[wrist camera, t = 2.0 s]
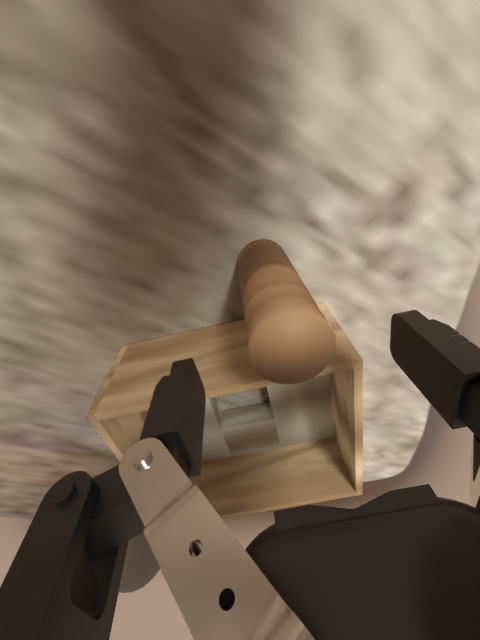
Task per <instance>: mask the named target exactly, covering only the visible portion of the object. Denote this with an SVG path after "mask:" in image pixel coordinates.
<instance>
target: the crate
mask: <svg viewBox="0 0 480 640" xmlns="http://www.w3.org/2000/svg"><path fill="white" fill-rule="evenodd" d="M316 304H317V306H318V308H319V309H320V311H321V313H322V314H323V316H324V318H325V319H326V321H327V322H328V324H329V326H330V327H331V329H332V331H333V333H334V335H335V338H336V350H335V354H334V356H333V358H332V360H331V362H330V363H329V365H328V366H327V367H326V368H325V369H324V370H323V371H322V372H321V373H319V374H318V375H317V376H315V377H313V378H311V379H309V380H306V381H304V382H300V383H295V384H279V383H274V382H271V381H268V380H266V379H264V378H263V377H261V376H260V375H259V374H258V373H257V372H256V371H255V370H254V369H253V367H252V365H251V362H250V358H249V351H248V344H247V336H246V328H245V321H244V319H242V320H237V321H233V322H228V323H224V324H219V325H214V326H210V327H205V328H201V329H196V330H192V331H187V332H183V333H178V334H173V335H169V336H164V337H160V338H155V339H151V340H146V341H142V342H137V343H132V344H128V345H123V346H122V348H121V350H120V352H119V353H118V355H117V357H116V359H115V361H114V363H113V365H112V367H111V369H110V371H109V373H108V375H107V377H106V379H105V381H104V383H103V385H102V387H101V388H100V390H99V392H98V394H97V396H96V398H95V400H94V402H93V404H92V406H91V408H90V410H89V412H88V414H87V416H86V417H87V419H88V420H89V421H90V423H91V424H92V425H93V427H94V428H95V429H96V431H97V432H98V433H99V435H100V436H101V437H102V439H103V440H104V441H105V443H106V444H107V445H108V447H109V448H110V449H111V451H112V452H113V453H114V455H115V456H116V457H117V459H118V460H119V461H121V458H122V457H123V455H124V454H125V452H126V451H127V450H128V449H129V448H130V447H131V446H132V445H134V444H135V443H137V442H138V441H139V439H140V436H141V433H142V429H143V426H144V423H145V419H146V416H147V413H148V409H149V408H150V402H151V399H152V396H153V392H154V389H155V386H156V385H157V384H158V382H159V381H160V380H161V378H162V377H163V376H167V375H170V371H171V367H172V363H173V362H174V361H178V360H183V359H187V358H192V359H193V360H194V362H195V365H196V367H197V370H198V373H199V375H200V378H201V380H202V383H203V386H204V389H205V395H206V404H205V417H204V431H203V445H202V459H201V473H200V476H195V477H190V481H191V482H192V483H195V484H196V486H197V487H198V488H199V489H200V491H201V492H202V493H203V495H204V496H205V497H206V499H207V500H208V501H209V503H210V504H211V505H212V507H213V508H214V509H215V511H216V512H217V513H218V515H219V516H220V517H221V518H228V517H234V516H240V515H245V514H251V513H257V512H262V511H269V510H275V509H280V508H286V507H292V506H298V505H303V504H309V503H315V502H321V501H327V500H333V499H339V498H344V497H350V496H355V495H362V455H363V360H362V358H361V357H360V355H359V354H358V352H357V351H356V349H355V348H354V346H353V345H352V343H351V342H350V340H349V339H348V338H347V336H346V335H345V333H344V332H343V330H342V329H341V327H340V326H339V324H338V323H337V321H336V320H335V318H334V317H333V315H332V314H331V312H330V311H329V309H328V308H327V306H326V305H325V303H324V302H319V303H316ZM263 387H267V391H268V395H269V400H270V402H266V403H261V404H256V405H251V406H246V407H241V408H236V409H231V410H226V411H221V410H220V407H219V405H218V402H217V399H216V397H218V396H223V395H228V394H233V393H238V392H243V391H248V390H253V389H258V388H263Z"/></svg>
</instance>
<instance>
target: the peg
mask: <svg viewBox="0 0 480 640" xmlns="http://www.w3.org/2000/svg"><path fill="white" fill-rule="evenodd" d="M237 267H238V275H239V282H240V290H241V298H242V305H243V313H244V321H245V328H246V336H247V344H248V351H249V358H250V362H251V365H252V367H253V369H254V370H255V371H256V372H257V373H258V374H259V375H260V376H261V377H263V378H264V379H266V380H268V381H271V382H274V383H279V384H295V383H300V382H304V381H306V380H309V379H311V378H313V377H315V376H317V375H318V374H319V373H321V372H322V371H323V370H324V369H325V368H326V367H327V366H328V365H329V363H330V362H331V360H332V358H333V356H334V354H335V350H336V338H335V335H334V333H333V331H332V329H331V327H330V326H329V324H328V322H327V321H326V319H325V318H324V316H323V314H322V313H321V311H320V309H319V308H318V306H317V304H316V303H315V301H314V300H313V298H312V296H311V295H310V293H309V291H308V290H307V288H306V287H305V285H304V283H303V282H302V280H301V278H300V277H299V275H298V274H297V272H296V270H295V269H294V267H293V265H292V264H291V262H290V261H289V259H288V257H287V256H286V254H285V252H284V251H283V249H282V248H281V247H280V246H279V245H278V244H277V243H275V242H273V241H271V240H266V239H261V240H256V241H253V242H251V243H249V244H248V245H247V246H245V247H244V248H243V250H242V251H241V253H240V255H239V257H238V262H237Z"/></svg>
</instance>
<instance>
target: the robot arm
mask: <svg viewBox="0 0 480 640" xmlns="http://www.w3.org/2000/svg"><path fill="white" fill-rule="evenodd" d="M390 350H391V354H392V357H393V359H394V360H395V362H396V363H397V364H398V366H399V367H400V368H401V369H402V370H403V371H404V373H405V374H406V375H407V376H408V377H409V378H410V380H411V381H412V382H413V383H414V384H415V386H416V387H417V388H418V389H419V390H420V391H421V393H422V394H423V395H424V396H425V397H426V399H427V400H428V401H429V402H430V403H431V404H432V406H433V407H434V408H435V409H436V410H437V411H438V413H439V414H440V415H441V416H442V417H443V419H444V420H445V421H446V422H447V423H448V424H449V426H450V427H451V428H452V429H456V428H462V427H467V426H468V428H469V429H470V430H471V431H472V435H471V452H470V490H469V498H468V503H467V504H465V503H462V502H458V501H455V500H451V499H446V498H441V497H437V496H436V494H435V493H434V491H433V490H432V488H431V487H430V485H429V484H427V485H421V486H415V487H409V488H404V489H398V490H392V491H389V492H387V493H385V494H383V495H381V496H379V497H377V498H375V499H373V500H371V501H369V502H368V503H366V504H364V505H362V506H360V507H358V508H355V509H346V508H336V507H326V506H316V505H307V506H302V507H296V508H290V509H284V510H279V511H274V517H275V524H274V525H272V526H270V527H268V528H267V529H266V530H264V531H263V532H261V533H260V534H259V535H258V536H257V537H256V538H255V539H254V540H253V541H252V542H251V543H250V544H249V546H248V547H247V548H246V550H245V549H244V548H243V546H242V545H241V544H240V542H239V541H238V540H237V538H236V537H235V536H234V534H233V533H232V532H231V530H230V529H229V528H228V526H227V525H226V524H225V522H224V521H223V520H222V518H221V517H220V516H219V515H218V513H217V512H216V511H215V509H214V508H213V507H212V505H211V504H210V503H209V501H208V500H207V499H206V497H205V496H204V495H203V493H202V492H201V491H200V489H199V488H198V487H197V486H196V484H195V483H192V482H191V481H190V477H195V476H200V473H201V459H202V445H203V431H204V417H205V404H206V395H205V389H204V386H203V383H202V380H201V378H200V375H199V373H198V370H197V367H196V365H195V362H194V360H193V359H192V358H187V359H183V360H178V361H174V362H173V363H172V367H171V371H170V375H167V376H163V377H162V378H161V380H160V381H159V382H158V384H157V385H156V386H155V389H154V392H153V396H152V399H151V402H150V408H149V409H148V413H147V416H146V419H145V423H144V426H143V429H142V433H141V436H140V439H139V441H138V442H137V443H135V444H134V445H132V446H131V447H130V448H129V449H128V450H127V451H126V452H125V454H124V455H123V457H122V458H121V461H120V464H119V465H118V466H116V467H114V468H112V469H110V470H108V471H106V472H104V473H102V474H100V475H98V476H96V477H94V478H91V477H90V476H89V474H88V473H86V472H84V471H77V472H73V473H70V474H68V475H66V476H65V477H63V478H61V479H60V480H59V481H58V482H56V483H55V484H54V485H53V486H52V487H51V488H50V490H49V491H48V492H47V493H46V495H45V496H44V498H43V500H42V502H41V504H40V506H39V508H38V510H37V512H36V514H35V516H34V518H33V521H32V523H31V525H30V527H29V529H28V531H27V533H26V535H25V538H24V539H23V541H22V544H21V546H20V548H19V550H18V552H17V554H16V556H15V558H14V560H13V562H12V564H11V566H10V569H9V571H8V573H7V575H6V577H5V579H4V581H3V583H2V586H1V587H0V640H109V637H110V632H111V627H112V622H113V617H114V612H115V607H116V602H117V597H118V592H119V587H120V582H121V577H122V572H123V567H124V562H125V557H126V552H127V547H128V542H129V540H130V539H132V538H134V537H135V536H137V535H139V534H141V533H143V532H144V534H145V536H146V539H147V541H148V543H149V545H150V547H151V549H152V551H153V554H154V556H155V558H156V560H157V562H158V564H159V566H160V568H161V571H162V573H163V575H164V577H165V579H166V581H167V583H168V585H169V588H170V590H171V591H172V594H173V596H174V598H175V600H176V602H177V604H178V606H179V609H180V611H181V613H182V615H183V617H184V619H185V621H186V623H187V626H188V628H189V630H190V632H191V634H192V636H193V638H194V640H480V348H478V347H477V346H476V345H474V344H473V343H472V342H469V340H468V339H466V338H465V337H464V336H462V335H459V333H458V332H457V331H455V330H454V329H453V328H451V327H450V326H449V325H447V324H444V323H441V322H439V321H436V320H434V319H432V320H428V319H427V318H426V317H425V316H423V315H422V314H421V313H420V312H418V311H417V310H411V311H407V312H402V313H398V314H394V315H393V316H392V319H391V338H390Z"/></svg>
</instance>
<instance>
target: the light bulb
mask: <svg viewBox="0 0 480 640" xmlns="http://www.w3.org/2000/svg"><path fill="white" fill-rule="evenodd" d="M159 569H160V566H159V564H158V562H157V560H156V558H155V556H154V554H153V551H152V549H151V547H150V545H149V543H148V541H147V539H146V536H145V534H144V532H143V533H141V534H139V535H137V536H135V537H134V538H132V539H130V540H129V542H128V547H127V552H126V557H125V562H124V567H123V572H122V577H121V582H120V587H119V592H122V593H126V592H133V591H136V590H138V589H140V588H142V587H143V586H145V585H146V584H147V583H148V582H150V580H151V579H152V578H153V577H154V576H155V575H156V574H157V572H158V571H159Z"/></svg>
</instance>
